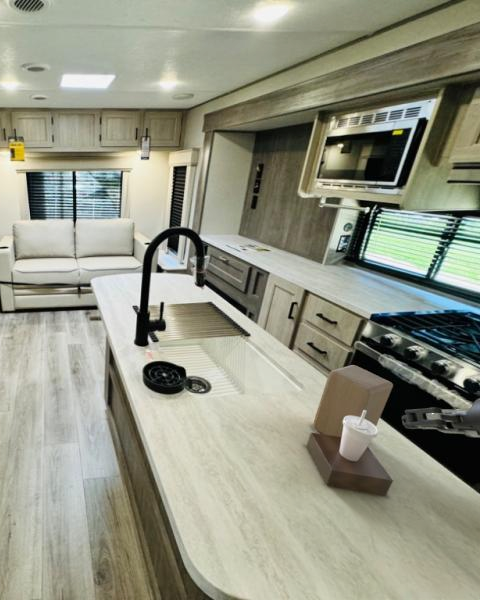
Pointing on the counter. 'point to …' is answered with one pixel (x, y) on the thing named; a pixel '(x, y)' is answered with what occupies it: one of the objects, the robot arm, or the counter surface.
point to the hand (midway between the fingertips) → (435, 426)
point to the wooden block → (350, 398)
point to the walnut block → (347, 466)
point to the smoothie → (356, 436)
